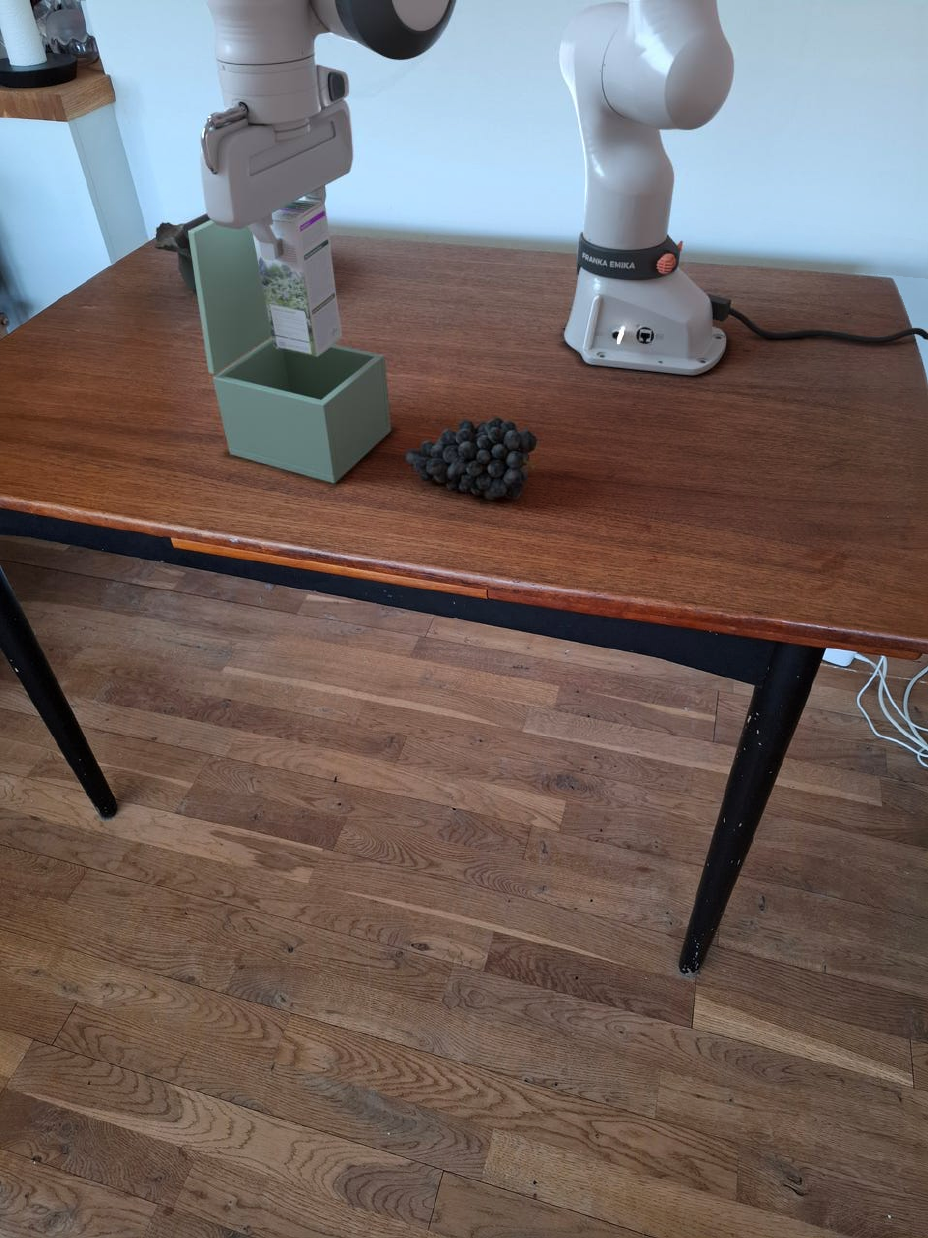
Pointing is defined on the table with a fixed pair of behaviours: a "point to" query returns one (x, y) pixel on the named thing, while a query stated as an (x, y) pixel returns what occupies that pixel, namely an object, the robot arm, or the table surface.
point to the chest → (305, 408)
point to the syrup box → (301, 281)
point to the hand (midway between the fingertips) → (293, 245)
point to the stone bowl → (177, 250)
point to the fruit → (477, 458)
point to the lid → (227, 290)
